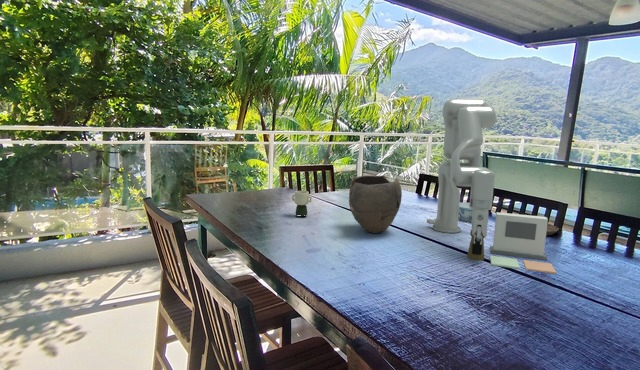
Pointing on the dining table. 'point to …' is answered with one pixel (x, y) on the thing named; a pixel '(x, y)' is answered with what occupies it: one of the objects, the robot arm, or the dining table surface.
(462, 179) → the robot arm
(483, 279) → the dining table surface
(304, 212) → the trophy cup
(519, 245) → the white display panel
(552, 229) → the plant saucer
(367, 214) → the clay pot
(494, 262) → the sage pad
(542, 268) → the terracotta pad
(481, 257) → the olive pepper shaker
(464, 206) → the chinaware
